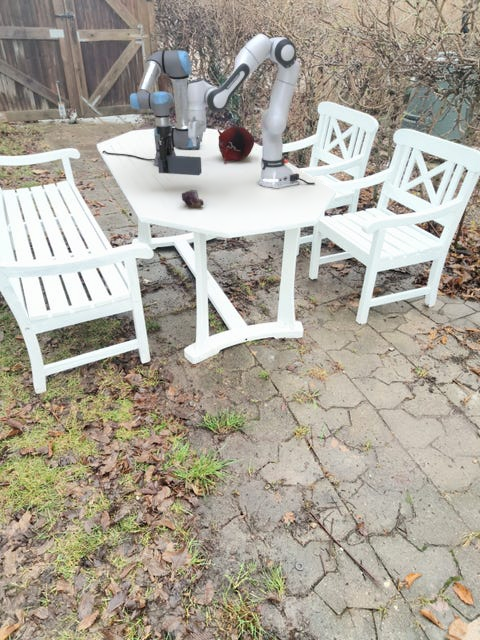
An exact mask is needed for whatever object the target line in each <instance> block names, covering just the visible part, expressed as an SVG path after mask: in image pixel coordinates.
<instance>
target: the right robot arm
mask: <svg viewBox="0 0 480 640" xmlns="http://www.w3.org/2000/svg"><path fill="white" fill-rule="evenodd" d="M267 59H268V60H269V61H271V62H273V63H276V64H277V66H278V69H277V74H276V77H275V80H274V83H273V86H272V89H271V92H270V100H269V105H268V108H266V109H264V111H263V112H262V113H261V116H260V120H261V121H260V122H261V140H262V152H261V154H262V157H261V160H260V161H261V162H260V167H261V172H260V178H259V182H258V184H259V185H260V186H262V187H266V188H273V189H280V188H287V187H291V186H292V187H293V186H297V185H299V181H302V182H303V183H305V184H307V185H316V183H315V182H310V181H306V180H305V179H303V178H300V173H298V172H297V173H294V171H293V170H292V169H291V168H290V167H288V166H287V165H286V164H288V163H289V160H288V159H286V158H283V145H284V143H283V136H282V135H283V133H284V132H285V130H286V128H287V122H288V118H289V112H290V107H291V103H292V99H293V97H294V93H295V90H296V87H297V85H298V84H297V83H298V80H299V76H300V71H301V64H300V62H299V61H298V60H297V48H296V45H295V43H294V42H293V41H292V40H291V39H288V38H286V37H284V36H271V37H268V36H267V35H265V34H264V33H258V34H256V35H255V36H254V37H252V38H251V39H250V40H248V42H247V43H246V44H245V45H244V46H243V47H242V48H241V50H239V51H238V53H237V54H236V56H235V58H234V67H233V68H234V69H233V71H232V73H231V74H230V75H229V77H228V78H227V79H226V80H225V82H223V84H222V85H221V86H220V87H218V86H214V85H211V84H210V83H208V82H207V81H205V80H204V78H203V79H202V78H195V79H192V80H190V81H189V82H188V83H187V88H188V92H187V96H188V103H189V105H188V119H189V120H190V122H189V125H188V137H189V138H191V139H192V142H193V146H195V147H196V146H197V142H196V138H197V137H199V138H198V142H200V143H202V142H203V138H204V133H205V132H206V130H207V122H208V121H207V117H208V112H207V111H206V110H207V109H206V108H209V109H210V111H211V112H214V113H218V114H219V113H222V112H224V111H225V110H226V109H227V107H228V105H229V102H230V99H231V98H232V96H233V95H234V94H235V93H236V91H238V89H239V88H240V87H241V85H242V84H243V83H244V82H245V80H247V79H248V77H249V76H251V74H253V73H254V72H255V71H256V70H257V69H258V68H259V67H260V65H262V63H263V62H265V60H267Z"/></svg>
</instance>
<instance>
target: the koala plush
mask: <svg viewBox="0 0 480 640" xmlns="http://www.w3.org/2000/svg"><path fill="white" fill-rule="evenodd" d="M198 138H199V136H198V137H197V138H196V142H197V146H196V147H195V146H194V147H188V148H187V147H177V148H179V149H181V150H199V149H200V148H201V142H198Z"/></svg>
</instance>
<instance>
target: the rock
mask: <svg viewBox="0 0 480 640" xmlns="http://www.w3.org/2000/svg"><path fill="white" fill-rule="evenodd" d="M181 200H182V201H183V202H184V203H185V205H186V206H187V207H188V208H194V207H199V208H200V207H202V206H204V205H205V204H204V200H203V199H202V198H200V197H199V192H198V190H197V189H190V190H187V191H185V192H182V193H181Z"/></svg>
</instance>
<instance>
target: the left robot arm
mask: <svg viewBox="0 0 480 640" xmlns="http://www.w3.org/2000/svg"><path fill="white" fill-rule="evenodd" d="M191 73H192V62H191V58H190V55H189V53H188V52H187V51H186V50H180V49H179V50H178V49H175V50H174V49H173V50H158V51H155V52H154V53H152V54H151V55H150V56H149V57H147V59H146V60H145V62H144V65H143V74H142V77H141V80H140V83H139V84H138V85H139V86H138V89H137V91H136V92H134V93H130V96H129V104H130V107H131V108H132V109H133V110H139V111H140V110H154V111H153V112H154V120H155V128H154V129H153V133H154V134H153V136H154V145H155V155H154V158H145V157H140V156H138V155H133V154H128V153H116V152H107V151H106V150H103V151H102V153H105V154H107V155H114V156H125V157H127V156H128V157H133V158H137V159H140V160H144V161H154V165H155V166H157V167H158V159H157V157H158V156H160V160H162V164H163V173H162V174H168V173H169V171H168V161H167V155H171V156H177V153H176V151H175V148H178V147H187V148H188V147H194V146H193V142H192V139H191V138H189V137H188V125H189V122H190V121H191V120H189V119H188V105H189V103H188V96H187V92H188V79H189V78H190V75H191ZM161 75H168V78H169V80H171V84H172V92H173V94H172V93H170V92H167V91H155V92H154V89H155V86H156V83H157V80H158V78H159V77H160V76H161ZM173 106H174V110H175V119H176V123H175V124H174V127H173V125H172V124H171V120H172V118H171V113H170V109H171V108H172V107H173Z"/></svg>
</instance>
